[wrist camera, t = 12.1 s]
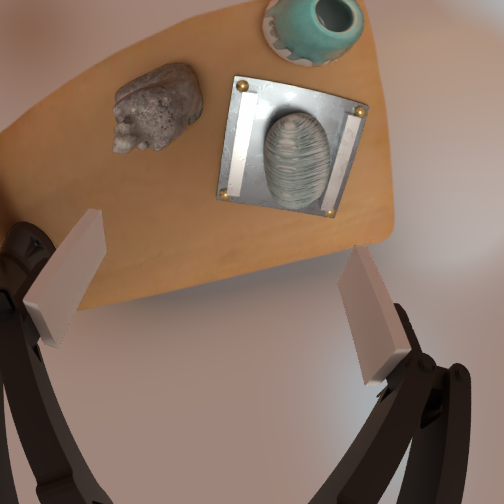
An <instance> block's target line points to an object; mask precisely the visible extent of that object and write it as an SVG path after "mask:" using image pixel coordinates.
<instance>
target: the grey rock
mask: <svg viewBox="0 0 504 504" xmlns="http://www.w3.org/2000/svg"><path fill="white" fill-rule="evenodd" d="M330 164H331V158H330V146H329V142H328V138H327V135H326V132H325V130H324V128H323V127H322V125H321V123H320V122H319V121H318V120H317V119H316V118H314V117H312V116H310V115H308V114H305V113H293V114H289V115H286V116H284V117H282V118H281V119H279V120H278V121H276V122H275V123H274V124H273V126H272V127H271V128H270V130H269V132H268V134H267V136H266V140H265V144H264V170H265V176H266V180H267V185H268V189H269V191H270V193H271V195H272V197H273V198H274V200H275V201H276V202H277V203H278V204H280V205H281V206H283V207H285V208H289V209H301V208H304V207H306V206H309V205H311V204H312V203H314V202H315V201H316V200H317V199H318V198H319V197H320V196H321V194H322V193H323V191H324V189H325V187H326V184H327V181H328V177H329V171H330Z"/></svg>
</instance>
